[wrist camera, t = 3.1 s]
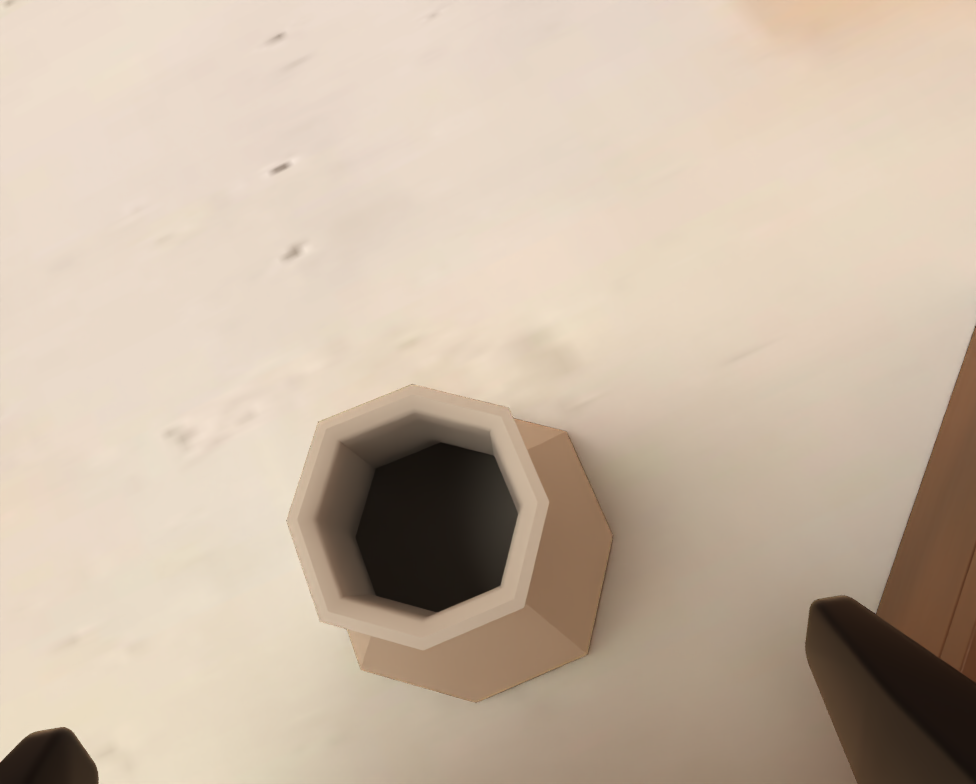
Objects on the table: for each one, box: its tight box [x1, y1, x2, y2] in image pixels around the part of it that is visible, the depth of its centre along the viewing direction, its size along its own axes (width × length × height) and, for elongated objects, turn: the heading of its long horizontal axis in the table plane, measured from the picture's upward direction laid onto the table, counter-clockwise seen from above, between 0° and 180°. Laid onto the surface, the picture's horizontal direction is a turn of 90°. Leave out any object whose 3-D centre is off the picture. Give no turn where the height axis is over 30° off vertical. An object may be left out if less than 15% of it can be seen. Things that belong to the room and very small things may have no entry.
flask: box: [286, 384, 613, 703], centre depth 14 cm, size 7×7×10 cm
